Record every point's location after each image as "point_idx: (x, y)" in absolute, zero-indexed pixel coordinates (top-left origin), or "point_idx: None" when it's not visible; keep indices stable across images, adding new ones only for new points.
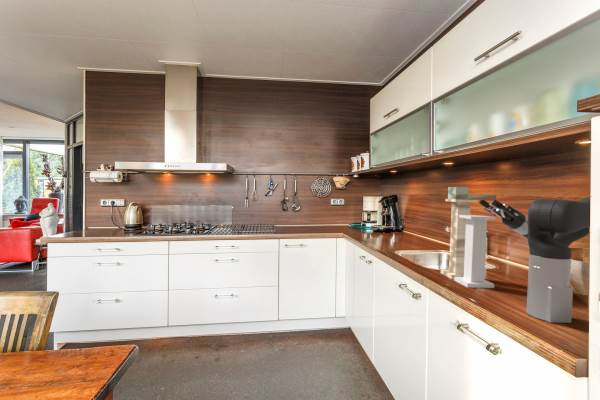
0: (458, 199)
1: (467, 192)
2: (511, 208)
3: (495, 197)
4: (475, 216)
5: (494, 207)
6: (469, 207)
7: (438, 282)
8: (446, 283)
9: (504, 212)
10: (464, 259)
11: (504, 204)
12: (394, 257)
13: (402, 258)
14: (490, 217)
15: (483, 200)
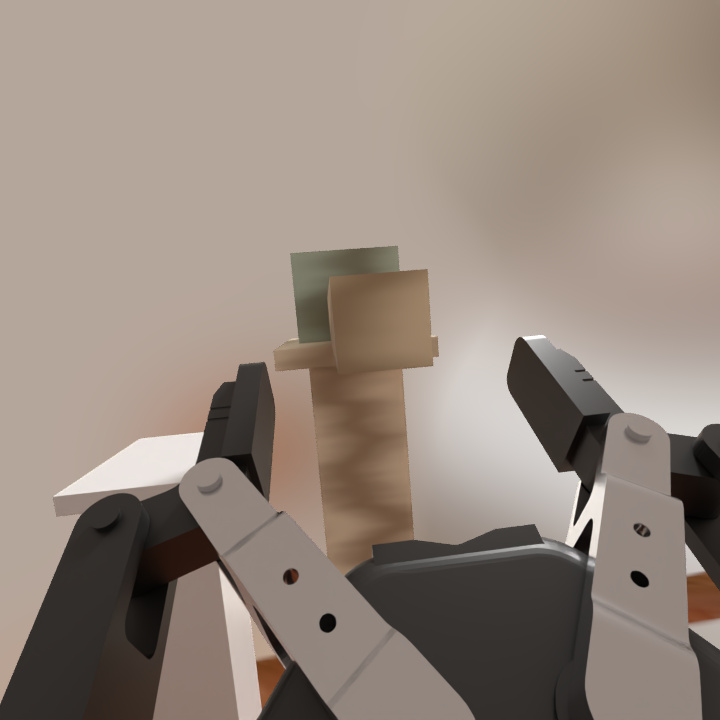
0: (288, 340)
1: (294, 292)
2: (65, 588)
3: (334, 325)
4: (134, 447)
5: (583, 521)
6: (312, 401)
7: (280, 665)
8: (265, 691)
9: (266, 636)
10: (255, 670)
11: (203, 467)
12: (695, 592)
13: (708, 618)
14: (76, 484)
15: (527, 355)
